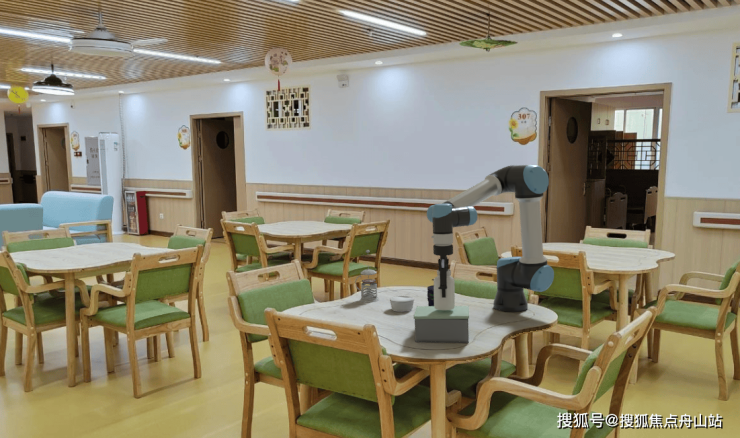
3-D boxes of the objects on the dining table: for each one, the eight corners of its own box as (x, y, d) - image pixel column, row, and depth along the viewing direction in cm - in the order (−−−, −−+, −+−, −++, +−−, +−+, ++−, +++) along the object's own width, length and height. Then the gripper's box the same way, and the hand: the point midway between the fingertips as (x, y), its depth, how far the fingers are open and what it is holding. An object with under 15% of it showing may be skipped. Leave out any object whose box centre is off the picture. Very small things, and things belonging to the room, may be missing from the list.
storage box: (468, 331, 232) (468, 309, 231) (468, 343, 219) (468, 319, 218) (418, 331, 236) (417, 309, 235) (415, 342, 222) (414, 319, 221)
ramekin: (414, 306, 275) (414, 295, 274) (414, 312, 264) (413, 301, 263) (390, 306, 276) (390, 295, 275) (389, 312, 265) (388, 301, 264)
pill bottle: (454, 311, 221) (453, 272, 219) (433, 310, 223) (432, 272, 221) (455, 305, 229) (454, 268, 227) (435, 305, 230) (434, 267, 229)
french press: (379, 301, 285) (377, 251, 282) (355, 302, 284) (353, 252, 282) (379, 297, 294) (377, 248, 292) (356, 297, 294) (354, 248, 292)
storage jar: (456, 321, 247) (455, 279, 245) (441, 326, 240) (440, 283, 238) (437, 317, 254) (436, 276, 252) (423, 322, 247) (421, 280, 245)
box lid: (468, 308, 232) (468, 305, 232) (469, 318, 217) (468, 316, 217) (416, 308, 235) (416, 306, 235) (413, 318, 221) (413, 316, 221)
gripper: (434, 240, 234) (436, 296, 236) (431, 248, 214) (433, 309, 216) (453, 240, 233) (454, 296, 235) (452, 248, 212) (453, 309, 215)
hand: (444, 302), depth 226 cm, fingers closed on pill bottle, 8 cm apart
